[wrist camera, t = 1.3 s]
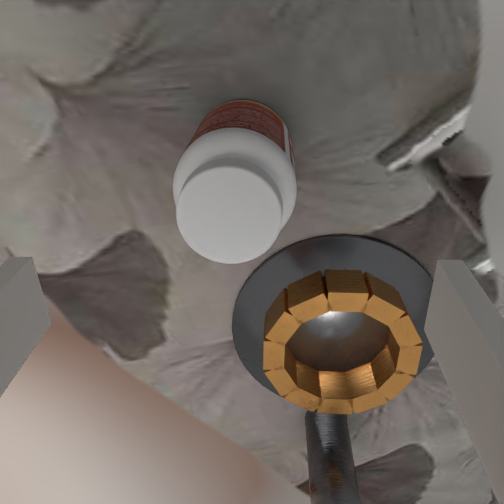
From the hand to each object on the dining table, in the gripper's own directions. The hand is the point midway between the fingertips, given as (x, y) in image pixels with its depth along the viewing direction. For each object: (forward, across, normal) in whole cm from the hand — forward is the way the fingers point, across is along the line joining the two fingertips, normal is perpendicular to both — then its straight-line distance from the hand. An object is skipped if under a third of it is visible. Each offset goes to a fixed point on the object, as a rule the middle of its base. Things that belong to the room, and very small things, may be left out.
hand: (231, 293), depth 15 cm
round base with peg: (+16, +6, -16) cm, 24 cm away
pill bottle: (+17, -1, 0) cm, 17 cm away
